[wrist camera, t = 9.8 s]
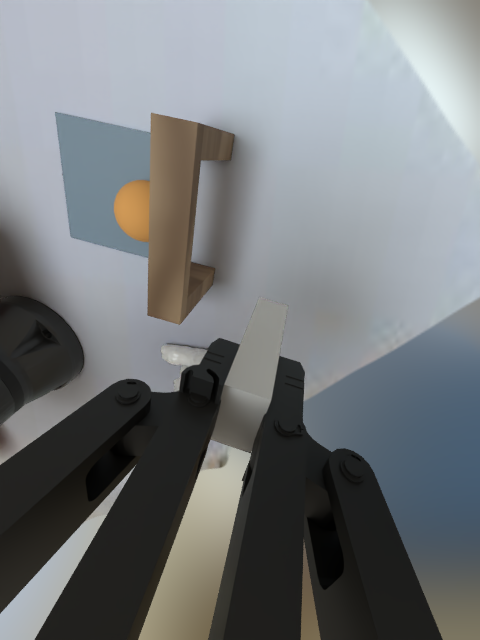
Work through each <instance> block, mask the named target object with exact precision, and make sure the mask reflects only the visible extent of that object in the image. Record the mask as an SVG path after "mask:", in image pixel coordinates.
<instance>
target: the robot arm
mask: <svg viewBox="0 0 480 640" xmlns="http://www.w3.org/2000/svg"><path fill="white" fill-rule="evenodd" d="M287 310H288V305H284V304H281V303H278V302H274V301H271V300H268V299H264V298H261V297H259V299H258V302H257V304H256V307H255V309H254V312H253V314H252V317H251V319H250V322H249V324H248V327H247V329H246V332H245V334H244V337H243V339H242V342H241V344H237V343H234V342H230V341H227V340H224V339H221V338H219V339H217V340H216V341H214V342H213V343H211V345H210V346H209V348H208V350H207V352H206V354H205V355H204V357H203V359H202V361H201V362H200V364H199V365H192V366H189V367H187V368H186V369H185V370H184V371H183V372H182V373H181V380H180V387H179V390H178V391H175V392H171V393H160V392H151V390H150V387H149V386H148V385H147V384H146V383H145V382H142V381H140V380H137V379H126V380H121V381H118V382H116V383H114V384H112V385H111V386H109V387H108V388H107V389H105V390H104V391H103V392H101V393H100V394H98V395H97V396H96V397H94V398H93V399H91V400H90V401H89V402H87V403H86V404H84V405H83V406H82V407H80V408H79V409H78V410H76V411H75V412H73V413H72V414H71V415H69V416H68V417H66V418H65V419H64V420H62V421H61V422H59V423H58V424H57V425H55V426H54V427H52V428H51V429H50V430H48V431H47V432H46V433H44V434H43V435H41V436H40V437H39V438H37V439H36V440H34V441H33V442H32V443H30V444H29V445H27V446H26V447H25V448H23V449H22V450H21V451H19V452H18V453H16V454H15V455H14V456H12V457H11V458H9V459H8V460H7V461H5V462H4V463H2V464H1V465H0V613H1V612H2V611H3V610H4V609H5V608H6V607H7V606H8V604H9V603H10V602H11V601H12V600H13V599H14V598H15V597H16V596H17V594H18V593H19V592H20V591H21V590H22V589H23V588H24V587H25V586H26V585H27V584H28V582H29V581H30V580H31V579H32V578H33V577H34V576H35V575H36V574H37V573H38V571H39V570H40V569H41V568H42V567H43V566H44V565H45V564H46V563H47V562H48V561H49V559H50V558H51V557H52V556H53V555H54V554H55V553H56V552H57V551H58V550H59V549H60V547H61V546H62V545H63V544H64V543H65V542H66V541H67V540H68V539H69V538H70V536H71V535H72V534H73V533H74V532H75V531H76V530H77V529H78V528H79V527H80V526H81V524H82V523H83V522H84V521H85V520H86V519H87V518H88V517H89V516H90V515H91V514H92V512H93V511H94V510H95V509H96V508H97V507H98V506H99V505H100V504H101V503H102V501H103V500H104V499H105V498H106V497H107V496H108V495H109V494H110V493H111V492H112V491H113V489H114V488H115V487H116V486H117V485H118V484H119V483H120V482H121V481H122V480H123V479H124V477H125V476H126V475H127V474H128V473H129V472H130V471H131V470H132V469H133V468H134V466H135V465H136V466H135V468H134V470H133V471H132V473H131V475H130V477H129V478H128V480H127V482H126V483H125V485H124V487H123V489H122V490H121V492H120V494H119V495H118V497H117V499H116V501H115V502H114V504H113V506H112V507H111V509H110V511H109V513H108V514H107V516H106V518H105V519H104V521H103V523H102V525H101V526H100V528H99V530H98V532H97V533H96V535H95V537H94V538H93V540H92V542H91V544H90V545H89V547H88V549H87V551H86V552H85V554H84V556H83V557H82V559H81V561H80V562H79V564H78V566H77V568H76V569H75V571H74V573H73V574H72V576H71V578H70V580H69V581H68V583H67V585H66V587H65V588H64V590H63V592H62V594H61V595H60V597H59V599H58V600H57V602H56V604H55V605H54V607H53V609H52V611H51V612H50V614H49V616H48V617H47V619H46V621H45V623H44V624H43V626H42V628H41V630H40V631H39V633H38V635H37V636H36V638H35V640H138V638H139V635H140V633H141V630H142V627H143V625H144V622H145V619H146V616H147V614H148V611H149V608H150V605H151V602H152V600H153V597H154V594H155V592H156V589H157V586H158V584H159V581H160V578H161V575H162V573H163V570H164V567H165V564H166V562H167V559H168V556H169V554H170V551H171V548H172V545H173V543H174V540H175V537H176V534H177V532H178V529H179V526H180V524H181V521H182V518H183V515H184V513H185V510H186V507H187V504H188V502H189V499H190V496H191V493H192V491H193V488H194V485H195V483H196V480H197V477H198V474H199V472H200V469H201V466H202V463H203V461H204V458H205V455H206V452H207V448H208V444H209V442H210V439H211V440H214V441H217V442H220V443H222V444H225V445H228V446H231V447H234V448H237V449H240V450H243V451H245V452H249V453H251V451H252V453H251V457H250V461H249V463H248V466H247V468H246V471H245V473H244V476H243V479H242V481H244V482H243V486H242V491H241V495H240V500H239V504H238V509H237V513H236V517H235V522H234V526H233V532H232V535H231V540H230V544H229V549H228V553H227V558H226V562H225V567H224V571H223V576H222V580H221V585H220V589H219V593H218V598H217V602H216V607H215V612H214V616H213V620H212V625H211V629H210V634H209V638H208V640H300V638H301V606H302V574H303V543H304V542H305V548H306V554H307V560H308V566H309V572H310V578H311V584H312V589H313V595H314V601H315V607H316V614H317V620H318V626H319V631H320V637H321V640H443V639H442V637H441V634H440V632H439V630H438V627H437V625H436V622H435V620H434V618H433V615H432V613H431V610H430V608H429V605H428V603H427V600H426V598H425V596H424V593H423V591H422V589H421V586H420V583H419V581H418V579H417V576H416V574H415V571H414V569H413V567H412V564H411V562H410V559H409V557H408V554H407V552H406V550H405V547H404V545H403V542H402V540H401V537H400V535H399V532H398V530H397V528H396V525H395V523H394V520H393V518H392V516H391V513H390V511H389V508H388V506H387V503H386V501H385V499H384V496H383V494H382V491H381V489H380V486H379V484H378V482H377V479H376V477H375V474H374V472H373V470H372V469H371V467H370V465H369V464H368V463H367V462H366V461H365V460H364V458H362V456H360V455H359V454H357V453H355V452H354V451H351V450H348V449H336V450H335V451H333V452H331V451H329V450H328V449H326V448H324V447H323V446H321V445H320V444H318V443H317V442H316V441H315V440H313V439H312V438H311V437H310V435H309V434H308V433H307V431H306V428H305V425H304V424H303V397H304V376H305V372H304V370H303V367H302V365H301V363H300V362H297V361H294V360H290V359H287V358H284V357H281V356H279V354H280V349H281V343H282V338H283V332H284V327H285V321H286V316H287ZM82 367H83V353H82V349H81V346H80V344H79V341H78V339H77V338H76V336H75V334H74V333H73V331H72V330H71V329H70V327H69V326H68V325H67V324H66V323H65V321H64V320H63V319H62V318H61V317H59V316H58V315H57V314H56V313H55V312H53V311H52V310H51V309H49V308H48V307H46V306H45V305H43V304H41V303H39V302H37V301H35V300H32V299H29V298H26V297H21V296H10V297H6V298H3V299H1V300H0V425H1V424H3V423H4V422H5V421H6V420H7V419H8V418H10V417H11V416H12V415H13V414H14V413H15V412H17V411H18V410H19V409H20V408H21V407H23V406H24V405H25V404H27V403H29V402H31V401H33V400H35V399H37V398H39V397H41V396H43V395H45V394H47V393H48V392H50V391H52V390H57V389H60V388H62V387H64V386H65V385H67V384H68V383H69V382H70V381H72V380H73V379H74V378H75V377H76V376H77V375H78V374H79V373H80V371H81V369H82ZM303 540H304V542H303Z"/></svg>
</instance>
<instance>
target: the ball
mask: <svg viewBox="0 0 480 640" xmlns="http://www.w3.org/2000/svg"><path fill="white" fill-rule="evenodd" d="M149 198H150V181H147V180H135V181H131V182H129V183H127V184H125V185H124V186H123V187H122V188H121V189H120V190H119V192H118V193H117V195H116V198H115V201H114V214H115V218H116V220H117V223H118V225H119V226H120V228H121V229H122V230H123V231H124V232H125V233H126V234H127V235H128V236H130V237H131V238H133V239H135V240H138V241H142V242H149Z"/></svg>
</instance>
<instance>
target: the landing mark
mask: <svg viewBox="0 0 480 640" xmlns="http://www.w3.org/2000/svg"><path fill="white" fill-rule="evenodd" d="M55 116H56V124H57V132H58V140H59V147H60V155H61V163H62V171H63V179H64V187H65V195H66V203H67V211H68V219H69V227H70V235H71V237H72V238H75V239H79V240H83V241H87V242H90V243H94V244H98V245H102V246H105V247H109V248H113V249H117V250H120V251H124V252H128V253H132V254H135V255H139V256H143V257H147V258H148V257H149V242H142V241H138V240H135V239H133V238H131V237H130V236H128V235H127V234H126V233H125V232H124V231H123V230H122V229H121V228H120V226H119V225H118V223H117V220H116V218H115V214H114V201H115V198H116V195H117V193H118V192H119V190H120V189H121V188H122V187H123V186H124V185H125V184H127V183H129V182H131V181H135V180H147V181H150V139H151V133H148V132H143V131H139V130H134V129H130V128H125V127H121V126H116V125H111V124H107V123H102V122H98V121H93V120H89V119H84V118H80V117H75V116H70V115H66V114H61V113H57V112H55Z"/></svg>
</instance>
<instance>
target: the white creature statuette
mask: <svg viewBox="0 0 480 640" xmlns="http://www.w3.org/2000/svg"><path fill="white" fill-rule="evenodd" d="M206 352H207V350H204V349H199V348H191V347H188V346H179V345H172V344H167V345H163V346H162V348H161V353H162V358H163V359H164V360H165V361H167V362H168V363H169V364H173V365H182V367H181V371H180V376H181V373H182V372H183V371H184V370H185V369H186V368H187V367H189V366H192V365H199V364H200V362H201V361H202V359H203V357H204V355H205V354H206ZM180 380H181V377H180V378H178V379H175V380H174V384H175V385H174V390H173V391H174V392H175V391H178V390H179V387H180Z"/></svg>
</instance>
